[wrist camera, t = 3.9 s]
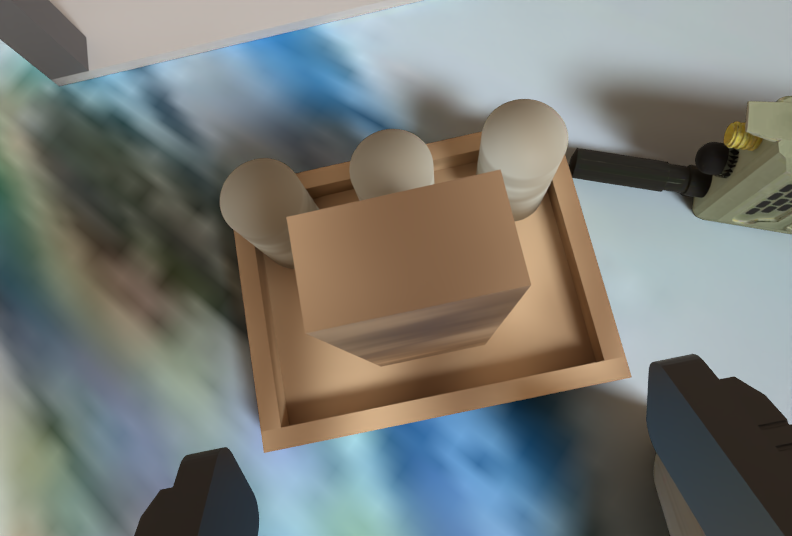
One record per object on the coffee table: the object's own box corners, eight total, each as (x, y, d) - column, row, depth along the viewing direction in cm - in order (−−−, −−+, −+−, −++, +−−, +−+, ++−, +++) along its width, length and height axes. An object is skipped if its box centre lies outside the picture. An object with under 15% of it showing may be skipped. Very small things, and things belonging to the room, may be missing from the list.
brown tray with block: (281, 447, 24) (63, 516, 10) (247, 206, 26) (37, 8, 13) (613, 378, 23) (848, 356, 10) (543, 140, 26) (652, -141, 12)
